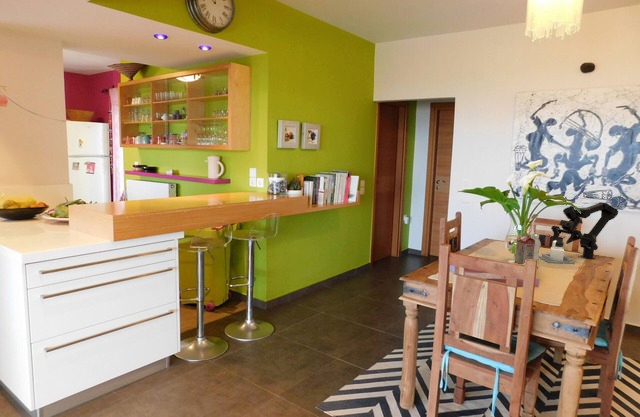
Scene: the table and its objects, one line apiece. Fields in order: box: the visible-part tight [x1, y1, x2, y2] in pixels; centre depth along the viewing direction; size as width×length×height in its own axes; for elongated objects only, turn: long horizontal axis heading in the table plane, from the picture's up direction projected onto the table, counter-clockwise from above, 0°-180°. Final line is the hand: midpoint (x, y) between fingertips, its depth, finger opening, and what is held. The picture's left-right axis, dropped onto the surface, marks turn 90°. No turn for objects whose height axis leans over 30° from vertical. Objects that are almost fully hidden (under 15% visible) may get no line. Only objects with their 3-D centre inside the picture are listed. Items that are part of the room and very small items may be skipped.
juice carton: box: [514, 232, 535, 264], centre depth 244 cm, size 7×7×22 cm
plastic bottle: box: [531, 233, 542, 266], centre depth 254 cm, size 6×7×20 cm
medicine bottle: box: [549, 240, 565, 261], centre depth 272 cm, size 7×7×12 cm
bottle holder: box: [539, 253, 575, 265], centre depth 272 cm, size 14×16×3 cm
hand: (559, 241), depth 271 cm, fingers open, 9 cm apart
